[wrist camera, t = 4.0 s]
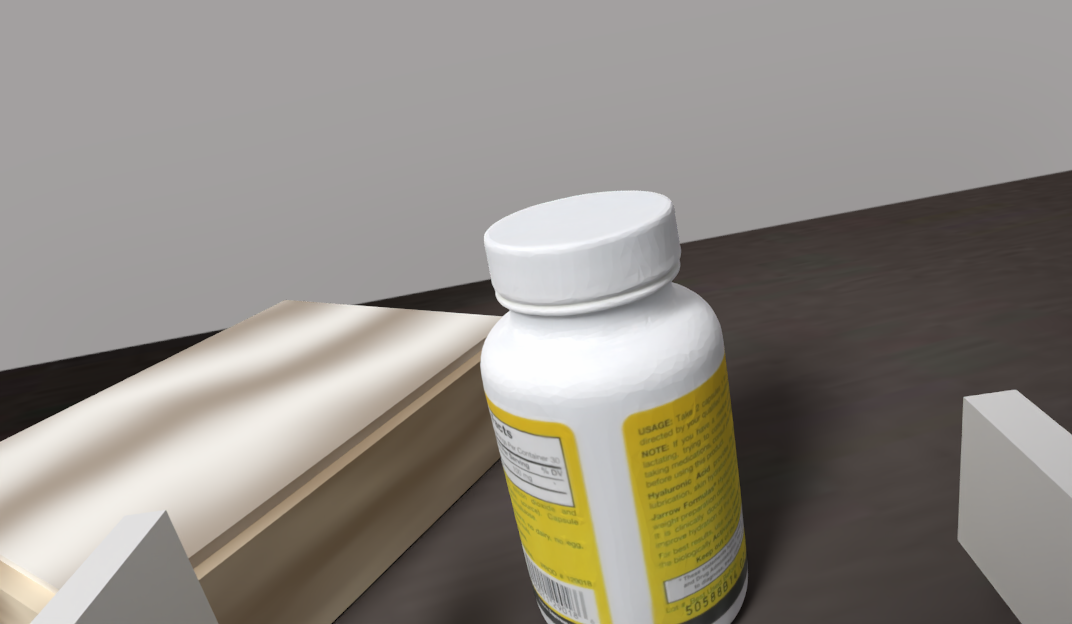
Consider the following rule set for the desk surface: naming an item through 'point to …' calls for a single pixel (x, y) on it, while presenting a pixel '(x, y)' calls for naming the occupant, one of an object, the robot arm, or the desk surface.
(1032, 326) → the desk surface
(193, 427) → the pedestal
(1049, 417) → the robot arm
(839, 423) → the desk surface
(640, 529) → the supplement bottle
